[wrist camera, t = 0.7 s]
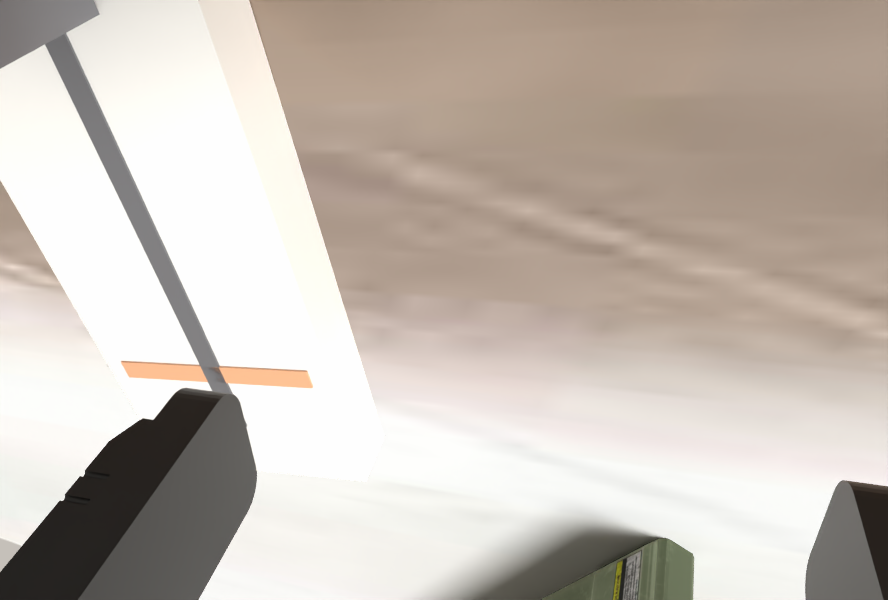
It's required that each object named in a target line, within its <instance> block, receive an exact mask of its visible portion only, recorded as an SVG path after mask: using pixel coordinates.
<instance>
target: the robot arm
mask: <svg viewBox="0 0 888 600" xmlns="http://www.w3.org/2000/svg"><path fill="white" fill-rule="evenodd" d="M256 481H257V471H256V464H255V460H254V456H253V452H252V448H251V444H250V440H249V436H248V432H247V428H246V424H245V420H244V416H243V412H242V408H241V404H240V401H239V399H238V398H237V397H236V396H235V395H234V394H229V393H221V392H214V391H207V390H200V389H192V388H182V389H180V390H178V391H177V392H176V393H175V394H174V395H173V396H172V397H171V398H170V399H169V401H168V402H167V403H166V405H165V406H164V407H163V408H162V410H161V411H160V412H159V413H158V415H157V416H156V417H155V418H154V420H152V419H145V418H142V419H141V420H139V421H138V422H137V423H135V424H134V425H132V426H131V427H129V428H128V429H126V430H125V431H124V432H122V433H121V434H119V435H118V436H116V437H115V438H113V439H112V440H111V441H109V442H108V443H107V445H106V446H105V447H104V448H103V449H102V451H101V452H100V453H99V454H98V455H97V457H96V458H95V459H94V460H93V461H92V463H91V464H90V465H89V466H88V467H87V469H86V470H85V475H84V476H83V477H81V476H80V477H79V478H78V479H77V481H76V482H75V483H74V484H73V485H72V487H71V488H70V489H69V490H68V491H67V493H66V494H65V499H64V501H59V502H58V504H57V505H56V506H55V507H54V508H53V510H52V511H51V512H50V513H49V514H48V516H47V517H46V518H45V519H44V520H43V522H42V523H41V524H40V525H39V526H38V528H37V529H36V530H35V531H34V532H33V534H32V535H31V536H30V537H29V538H28V540H27V541H26V542H25V543H24V544H23V546H22V547H21V548H20V549H19V550H18V552H17V553H16V554H15V555H14V556H13V558H12V559H11V560H10V561H9V562H8V564H7V565H6V566H5V567H4V568H3V570H2V571H1V572H0V600H198V599H199V598H200V596H201V594H202V592H203V590H204V589H205V587H206V585H207V583H208V582H209V580H210V578H211V576H212V574H213V573H214V571H215V569H216V567H217V565H218V564H219V562H220V560H221V558H222V557H223V555H224V553H225V551H226V549H227V548H228V546H229V544H230V542H231V540H232V539H233V537H234V535H235V533H236V532H237V530H238V528H239V526H240V524H241V523H242V521H243V519H244V517H245V516H246V514H247V512H248V510H249V508H250V506H251V503H252V500H253V497H254V493H255V488H256ZM805 593H806V600H888V486H880V485H873V484H866V483H859V482H851V481H844V480H843V481H841V482H839V483H838V485H837V486H836V488H835V491H834V493H833V496H832V498H831V501H830V504H829V506H828V509H827V512H826V514H825V517H824V520H823V522H822V525H821V527H820V530H819V533H818V535H817V538H816V541H815V543H814V546H813V549H812V551H811V554H810V557H809V560H808V565H807V571H806V583H805Z"/></svg>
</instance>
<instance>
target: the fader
mask: <svg viewBox="0 0 888 600" xmlns="http://www.w3.org/2000/svg"><path fill="white" fill-rule="evenodd" d="M98 15H100V14H99V11H98V9H97V7H96V4H95V2H94V0H0V69H1V68H3V67H4V66H6V65H8V64H10V63H12V62H14V61H15V60H17V59H19V58H21V57H23V56H25V55H26V54H28V53H30V52H32V51H34V50H36V49H37V48H39V47H41V46H43V45H45V44H47V43H48V42H50V41H52V40H54V39H56V38H58V37H59V36H61V35H63V34H65V33H67V32H69V31H70V30H72V29H74V28H76V27H78V26H80V25H81V24H83V23H85V22H87V21H89V20H90V19H92V18H94V17H96V16H98Z"/></svg>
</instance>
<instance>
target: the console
mask: <svg viewBox="0 0 888 600" xmlns="http://www.w3.org/2000/svg"><path fill="white" fill-rule="evenodd" d="M94 2H95V4H96V7H97V9H98V11H99V14H100V15H98V16H96V17H94V18H92V19H90V20H89V21H87V22H85V23H83V24H81V25H80V26H78V27H76V28H74V29H72V30H70V31H69V32H67V33H65V34H63V35H61V36H59V37H58V38H56V39H54V40H52V41H50V42H48V43H47V44H45V45H43V46H41V47H39V48H37V49H36V50H34V51H32V52H30V53H28V54H26V55H25V56H23V57H21V58H19V59H17V60H15V61H14V62H12V63H10V64H8V65H6V66H4V67H3V68H1V69H0V180H1V182H2V184H3V185H4V187H5V189H6V190H7V192H8V194H9V196H10V197H11V199H12V201H13V202H14V204H15V206H16V208H17V209H18V211H19V213H20V215H21V216H22V218H23V220H24V221H25V223H26V225H27V227H28V228H29V230H30V232H31V234H32V235H33V237H34V239H35V240H36V242H37V244H38V246H39V247H40V249H41V251H42V252H43V254H44V256H45V258H46V259H47V261H48V263H49V265H50V266H51V268H52V270H53V271H54V273H55V275H56V277H57V278H58V280H59V282H60V283H61V285H62V287H63V289H64V290H65V292H66V294H67V296H68V297H69V299H70V301H71V302H72V304H73V306H74V308H75V309H76V311H77V313H78V315H79V316H80V318H81V320H82V321H83V323H84V325H85V327H86V328H87V330H88V332H89V333H90V335H91V337H92V339H93V340H94V342H95V344H96V346H97V347H98V349H99V351H100V352H101V354H102V356H103V358H104V359H105V361H106V363H107V365H108V366H109V368H110V370H111V371H112V373H113V375H114V377H115V378H116V380H117V382H118V383H119V385H120V387H121V389H122V390H123V392H124V394H125V396H126V397H127V399H128V401H129V402H130V404H131V406H132V408H133V409H134V411H135V413H136V415H137V416H138V418H139V420H141V419H142V418H145V419H152V420H154V418H155V417H156V416H157V415H158V413H159V412H160V411H161V410H162V408H163V407H164V406H165V405H166V403H167V402H168V401H169V399H170V398H171V397H172V396H173V395H174V394H175V393H176V392H177V391H178V390H180V389H182V388H192V389H200V390H207V391H214V392H221V393H229V394H234V395H235V396H236V397H237V398H238V399H239V401H240V404H241V408H242V412H243V416H244V420H245V424H246V428H247V432H248V436H249V440H250V444H251V448H252V452H253V456H254V460H255V464H256V471H261V472H271V473H282V474H292V475H302V476H312V477H322V478H332V479H343V480H353V481H363V482H366V481H367V479H368V476H369V474H370V472H371V469H372V467H373V464H374V462H375V459H376V457H377V454H378V452H379V449H380V447H381V445H382V442H383V440H384V434H383V430H382V427H381V424H380V421H379V418H378V414H377V411H376V408H375V405H374V401H373V398H372V395H371V392H370V389H369V385H368V382H367V379H366V376H365V372H364V369H363V366H362V363H361V360H360V356H359V353H358V350H357V347H356V343H355V340H354V337H353V334H352V331H351V327H350V324H349V321H348V318H347V314H346V311H345V308H344V305H343V302H342V298H341V295H340V292H339V289H338V286H337V282H336V279H335V276H334V273H333V269H332V266H331V263H330V260H329V257H328V253H327V250H326V247H325V244H324V240H323V237H322V234H321V231H320V228H319V224H318V221H317V218H316V215H315V211H314V208H313V205H312V202H311V199H310V195H309V192H308V189H307V186H306V182H305V179H304V176H303V173H302V170H301V166H300V163H299V160H298V157H297V153H296V150H295V147H294V144H293V141H292V137H291V134H290V131H289V128H288V124H287V121H286V118H285V115H284V112H283V108H282V105H281V102H280V99H279V95H278V92H277V89H276V86H275V83H274V79H273V76H272V73H271V70H270V67H269V63H268V60H267V57H266V54H265V50H264V47H263V44H262V41H261V38H260V34H259V31H258V28H257V25H256V21H255V18H254V15H253V12H252V9H251V5H250V2H249V0H94Z"/></svg>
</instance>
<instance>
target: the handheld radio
mask: <svg viewBox="0 0 888 600" xmlns="http://www.w3.org/2000/svg"><path fill="white" fill-rule="evenodd" d="M693 580H694V556H693V554H692V553H690V552H689V551H687V550H686V549H684V548H682V547H681V546H679V545H678V544H676V543H675V542H673V541H671V540H669V539H666V538H658V539H656V540H654V541H652V542H650V543H648V544H647V545H645V546H643V547H641V548H639V549H637V550H635V551H633V552H631V553H629V554H627V555H625V556H624V557H622V558H620V559H618V560H616V561H614V562H612V563H610V564H608V565H606V566H604V567H602V568H601V569H599V570H597V571H595V572H593V573H591V574H589V575H587V576H585V577H583V578H581V579H579V580H577V581H576V582H574V583H572V584H570V585H568V586H566V587H564V588H562V589H560V590H558V591H556V592H554V593H553V594H551V595H549V596H547V597H545V598H543V599H541V600H693Z"/></svg>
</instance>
